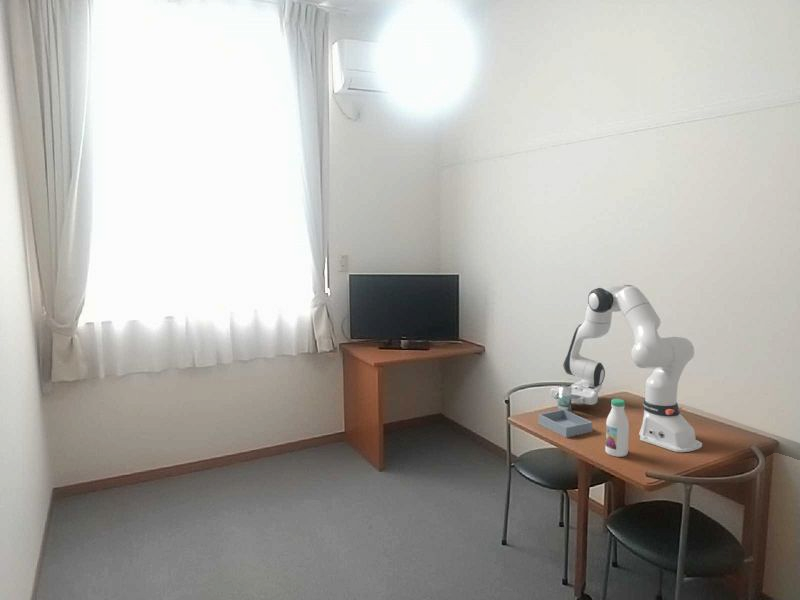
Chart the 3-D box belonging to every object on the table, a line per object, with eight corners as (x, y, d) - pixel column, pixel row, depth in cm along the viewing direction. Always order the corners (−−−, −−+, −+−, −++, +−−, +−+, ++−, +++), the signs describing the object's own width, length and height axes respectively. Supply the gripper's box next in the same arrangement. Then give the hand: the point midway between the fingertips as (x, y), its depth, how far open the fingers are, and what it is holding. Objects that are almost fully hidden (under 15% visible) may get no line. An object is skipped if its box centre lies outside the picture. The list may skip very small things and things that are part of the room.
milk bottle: (624, 448, 206) (626, 396, 203) (630, 457, 199) (632, 403, 196) (602, 448, 207) (604, 396, 204) (608, 457, 200) (610, 403, 197)
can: (574, 414, 243) (574, 388, 241) (563, 416, 241) (564, 390, 239) (565, 410, 248) (565, 384, 246) (555, 412, 246) (555, 386, 244)
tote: (592, 431, 223) (592, 422, 223) (566, 437, 218) (566, 427, 217) (563, 418, 239) (563, 409, 238) (538, 423, 233) (538, 414, 233)
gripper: (558, 381, 260) (543, 388, 250) (601, 389, 246) (586, 397, 236) (558, 394, 261) (543, 401, 251) (600, 403, 247) (586, 411, 237)
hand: (564, 399), depth 243 cm, fingers open, 8 cm apart
